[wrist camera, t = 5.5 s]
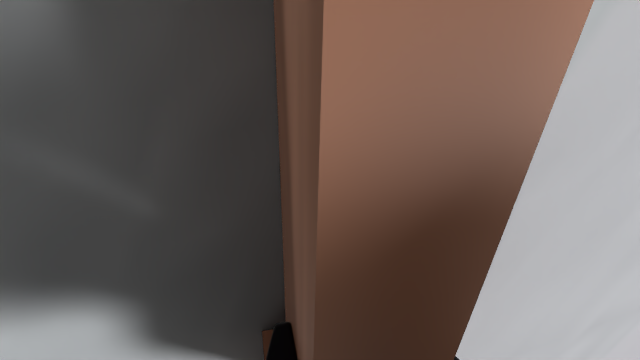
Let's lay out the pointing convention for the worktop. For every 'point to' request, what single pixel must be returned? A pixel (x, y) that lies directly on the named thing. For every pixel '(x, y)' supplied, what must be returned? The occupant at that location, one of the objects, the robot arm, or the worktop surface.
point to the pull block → (405, 160)
